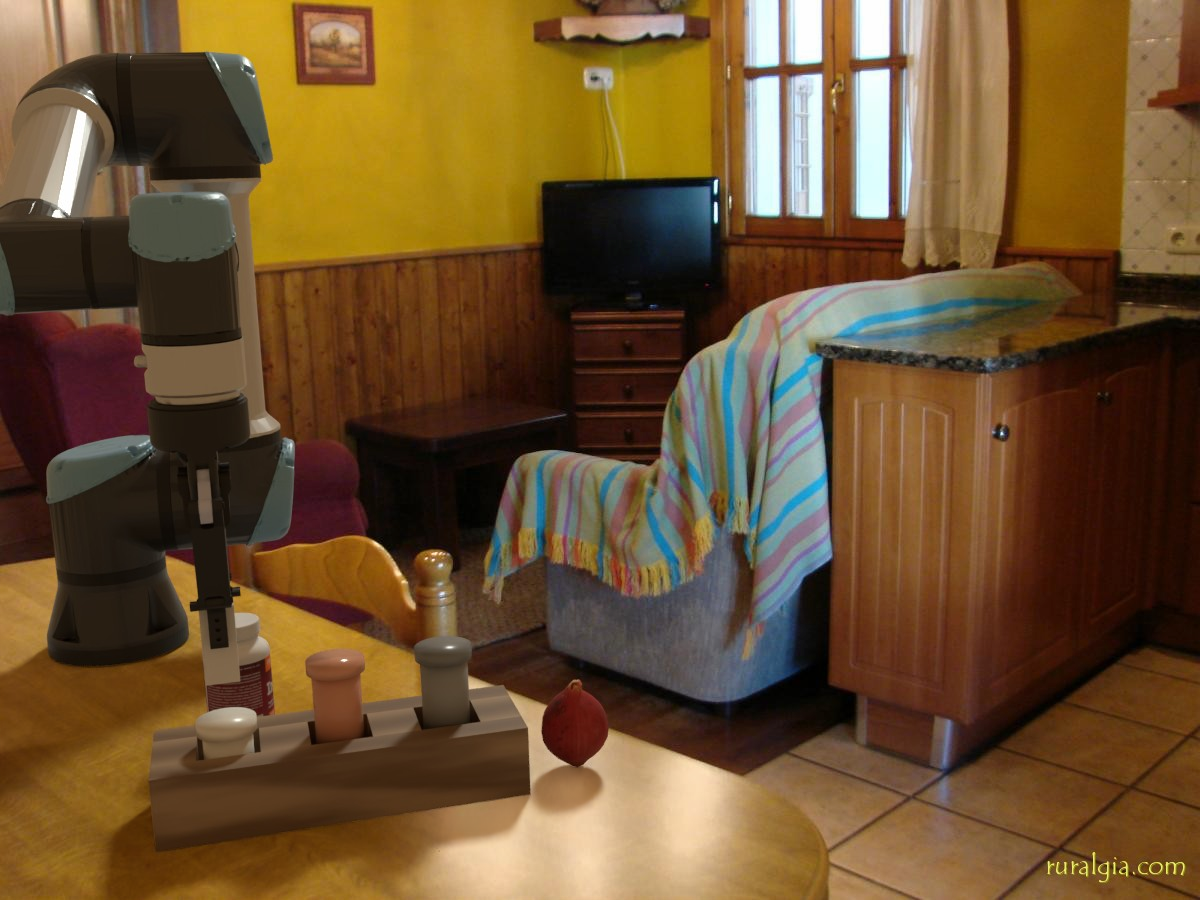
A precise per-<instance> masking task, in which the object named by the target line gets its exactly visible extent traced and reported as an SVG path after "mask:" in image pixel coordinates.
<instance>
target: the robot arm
mask: <svg viewBox="0 0 1200 900" xmlns="http://www.w3.org/2000/svg"><path fill="white" fill-rule="evenodd" d="M11 139H12V143H13V145H14V149H13V151H12V155H11V158H10V161H9V164H8V166H7V169H6V173H5V175H4V179H3V181H2V183H1V187H0V315H3V316H6V317H8V316H14V315H16V314H17V315H20V314H34V313H36V314H37V313H39V314H40V313H51V312H52V313H53V312H68V311H70V312H71V311H72V312H73V311H87V310H109V309H110V310H113V309H114V310H116V309H137V311H138V312H137V313H138V321H139V322H138V323H139V328H140V333H139V335H140V342H141V350H142V351H141V352H143V354H138V355H135V357H134V360H133V364H134V367H136V368H139V369H140V368H141V369H142V368H147V369H146V370H145V371H144V374H143V375H144V383H145V384H144V385H145V391H146V393H148V394H149V395H150V396H152V397H154V398H152V399H150V401H148V404H147V405H146V411H147V421H148V430H149V431H148V432H149V434H137V435H124V436H116V437H111V438H105V439H102V440H96V441H92V442H88V443H84V444H81V445H78V446H75V447H73V448H70V449H67V450H65V451H63V452H61V453H58V454H57V455H56V456H55V457H53V458H52V459H51V461H49V463H48V465H47V467H46V473H45V474H46V492H47V494H46V495H47V496H46V498H45V501H46V504H47V505H48V511H49V520H50V528H51V537H52V543H53V544H52V545H53V553H54V554H53V555H54V561H55V563H54V564H55V569H56V578H57V579H56V580H57V581H56V582H57V590H56V593H55V594H56V595H55V597H54V602H53V607H52V609H51V610H52V611H51V615H50V618H49V619H50V620H49V624H48V627H47V628H48V629H47V631H46V632H47V633H46V641H47V651H48V656H49V657H50V659H51V660H53V661H55V662H56V663H60V664H64V665H66V666H67V665H68V666H72V667H73V666H74V667H108V666H119V665H125V664H132V663H137V662H140V661H143V660H144V661H145V660H148V659H153V658H155V657H158V656H162V655H165V654H167V653H168V652H171V651H173V650H175V649H177V648H178V647H181V646H182V645H184V643H186V642H187V640H188V639H189V636H190V628H189V627H190V626H189V621H188V620H189V619H188V615H187V611H185V608H184V606H183V604H182V601H181V599H180V597H179V594H178V593H177V590H176V588H175V587H174V586H175V585H174V584H173V582H172V579H171V577H170V575H169V573H168V567H167V558H166V552H170V551H171V552H172V551H181V550H192V551H193V552H192V553H193V561H194V572H195V580H196V581H195V582H196V590H197V593H196V594H197V599H196V600H194V601H189V612H191V613H193V612H198V620H199V630H200V639H201V650H202V653H203V658H202V664H203V663H204V670H203V674H204V673H205V681H204V685H205V684H206V686H207V685H216V684H224V683H232V682H240V670H239V658H238V647H237V636H236V624H235V613H236V612H235V605H234V604H235V603H234V598H236V597H241V586H232V585H231V581H232V578H233V577H232V572H231V571H230V567H229V565H230V564H229V552H228V547H229V546H239V545H245V546H246V547H247V546H252V545H253V544H259V543H267V542H272V541H273V542H274V541H278V540H281V539H282V538H284V537H285V536H286V535H287V534H288V532H289V530H290V527H291V521H292V511H293V502H294V501H293V500H294V485H295V484H294V483H295V481H294V480H295V457H296V452H295V451H296V449H295V448H296V446H295V445H296V444H295V441H294V440H293V439H291V438H288V437H283V438H282V433H281V432H282V431H281V430H282V429H281V423H280V422H279V421H278V420H276V419H275V418H274V417H273V415H270V414H269V413H268V411H267V410H266V401H265V389H264V377H263V367H262V366H263V364H262V353H261V351H262V350H261V338H260V327H259V315H258V314H259V313H258V303H257V291H256V290H257V288H256V276H255V266H254V265H255V262H254V252H253V239H252V226H251V214H250V213H251V212H250V200H249V198H250V195H251V193H252V192H253V191H254V190H255V189H256V188H257V186H258V185H259V184H260V183H261V182H262V173H261V172H262V170H261V165H264V166H266V165H267V164H271V163H272V162H273V161H274V156H273V155H274V154H273V151H272V150H273V148H272V145H271V141H270V137H269V127H268V124H267V120H266V115H265V111H264V104H263V100H262V94H261V91H260V86H259V81H258V77H257V74H256V69H255V66H254V64H253V63H252V62H251V61H250V59H249V58H247V57H246V56H244V55H243V54H237V53H227V52H216V51H215V52H213V51H208V50H206V51H195V52H194V51H192V52H191V51H190V52H188V51H186V52H131V53H128V52H127V53H119V52H104V53H103V52H102V53H97V54H91V55H87V56H84V57H80V58H78V59H75V60H72V61H70V62H68V63H66V64H64V65H61V66H60V67H58V68H56V69H55V70H52V71H51V72H48V73H47V75H45V76H44V77H42V78H40V79H38V81H36V82H35V83H34V84H33V85H31V87H30V88H29V89H28V90H27V91H26V92H25V93H24V94H23V96H22V97H21V99H20V100H19V102H18V104H17V106H16V109H15V111H14V115H13V117H12V121H11ZM128 166H129V167H148V172H149V182H150V185H152V186H153V187H154V188H155V189H156V190H157V191H158V192H153V193H150V192H149V193H141V194H137V195H135V196H133V197H132V199H130V201H129V203H128V215H112V216H90V212H91V205H92V201H93V196H94V191H95V186H96V181H97V177H98V173H99V172H101V171H102V170H103V169H104V168H106V167H128Z"/></svg>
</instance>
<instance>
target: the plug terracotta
mask: <svg viewBox="0 0 1200 900" xmlns="http://www.w3.org/2000/svg"><path fill="white" fill-rule="evenodd" d="M304 661H305V662H304V663H305V664H304V665H305V675H306V677H307V678H309V679H310V680H311V690H312V693H311V694H312V703H313V706H312V707H313V710H314V720H315V733H316V744H323V743H330V742H338V741H345V740H352V739H359V738H365V734H364V719H363V704H362V703H363V694H362V693H363V690H362V677H361V674H362V673H364V671H365V670H366V669H365V668H366V662H365V654H364V653H363V652H362V651H359V650H356V649H352V648H351V649H350V648H333V649H326V650H321V651H319V652H315V653H313V654H310V655H309V656H307V658H305V660H304Z"/></svg>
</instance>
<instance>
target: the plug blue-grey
mask: <svg viewBox="0 0 1200 900" xmlns="http://www.w3.org/2000/svg"><path fill="white" fill-rule="evenodd" d="M413 651H414V661H415V662H416V664H418V665H419V673H420V686H421V690H420V692H421V696H422V709H423V727H424V730H425V729H432V728H440V727H447V726H454V725H461V724H469V723H470V704H469V689H470V687H469V667H468V664H469V663H468V662H469V660H471V659H472V657H473V655H472V654H473V652H472V651H473V650H472V642H471V641H470V640H469V639H467V638H464V637H462V636H461V637H459V636H456V635H454V636H452V635H444V636H442V635H441V636H435V637H430V638H426V639H425V638H424V639H423V640H420V641H419V642H417V643H416V644H415V645H414V646H413Z"/></svg>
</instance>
